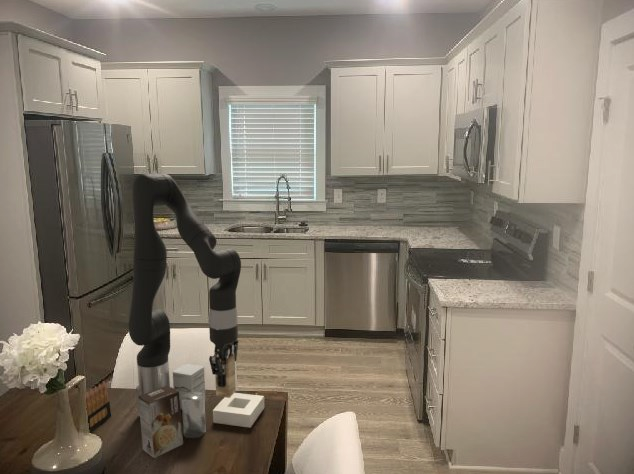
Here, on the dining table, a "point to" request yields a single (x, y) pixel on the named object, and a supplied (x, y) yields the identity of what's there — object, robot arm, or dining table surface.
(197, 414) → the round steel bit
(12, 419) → the dining table surface
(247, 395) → the socket block
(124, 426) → the dining table surface
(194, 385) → the supplement box
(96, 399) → the ammunition clip
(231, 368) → the square peg
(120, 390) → the dining table surface
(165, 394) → the coffee box
